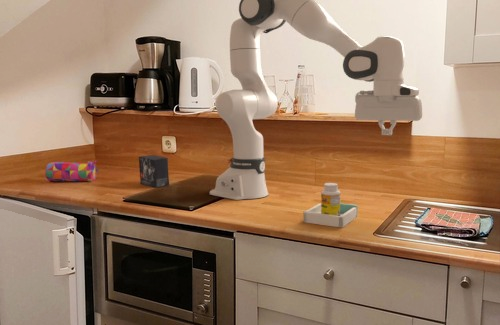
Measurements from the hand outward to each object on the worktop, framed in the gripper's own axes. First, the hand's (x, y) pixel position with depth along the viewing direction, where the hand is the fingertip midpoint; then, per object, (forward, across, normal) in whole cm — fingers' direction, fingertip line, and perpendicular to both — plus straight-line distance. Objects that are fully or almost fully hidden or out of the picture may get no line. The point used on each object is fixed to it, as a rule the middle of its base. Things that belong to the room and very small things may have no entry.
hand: (386, 134), depth 145 cm
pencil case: (+24, -136, -14) cm, 139 cm away
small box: (+24, -96, -4) cm, 99 cm away
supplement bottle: (+24, -11, -19) cm, 32 cm away
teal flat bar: (+24, -11, -11) cm, 29 cm away
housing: (+24, -11, -19) cm, 33 cm away
